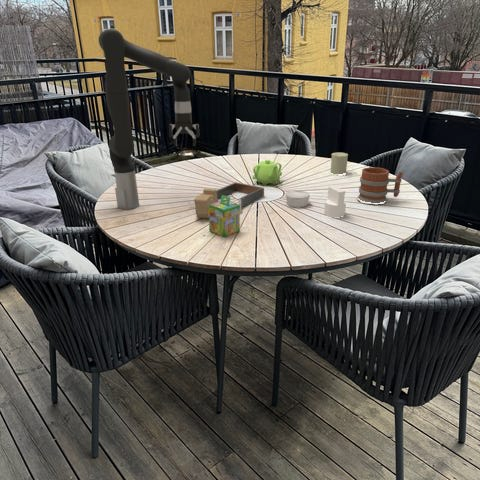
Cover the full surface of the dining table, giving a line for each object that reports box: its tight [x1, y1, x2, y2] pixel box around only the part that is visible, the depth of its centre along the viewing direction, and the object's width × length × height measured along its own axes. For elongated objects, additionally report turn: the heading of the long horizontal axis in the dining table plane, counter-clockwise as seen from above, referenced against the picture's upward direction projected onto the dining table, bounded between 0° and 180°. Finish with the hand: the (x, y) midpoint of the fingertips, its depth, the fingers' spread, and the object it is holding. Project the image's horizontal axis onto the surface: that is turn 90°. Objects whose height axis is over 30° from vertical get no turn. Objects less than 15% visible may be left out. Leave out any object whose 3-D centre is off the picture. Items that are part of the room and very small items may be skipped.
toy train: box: [193, 188, 219, 220], centre depth 187 cm, size 6×17×10 cm, turn 166°
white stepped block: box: [323, 185, 347, 217], centre depth 183 cm, size 9×9×12 cm
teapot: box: [252, 159, 283, 187], centre depth 227 cm, size 16×14×13 cm
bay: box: [199, 181, 265, 214], centre depth 204 cm, size 26×24×4 cm
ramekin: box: [285, 190, 311, 208], centre depth 197 cm, size 11×11×5 cm
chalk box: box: [208, 195, 241, 238], centre depth 168 cm, size 9×9×15 cm
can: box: [330, 152, 349, 174], centre depth 241 cm, size 9×9×12 cm
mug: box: [357, 166, 403, 203], centre depth 198 cm, size 14×19×15 cm
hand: (185, 146), depth 201 cm, fingers open, 8 cm apart
